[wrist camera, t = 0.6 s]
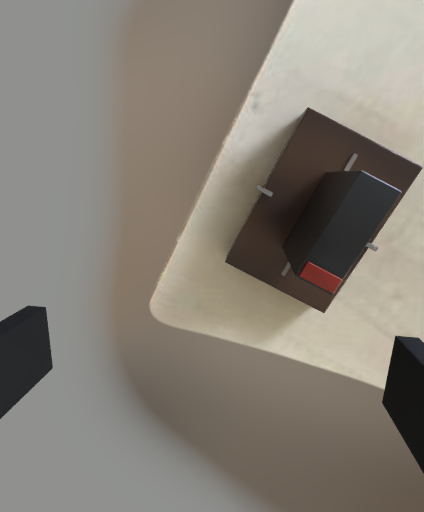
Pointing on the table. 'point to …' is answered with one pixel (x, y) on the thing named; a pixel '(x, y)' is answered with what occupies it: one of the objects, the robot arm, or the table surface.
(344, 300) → the table surface
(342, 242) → the dark grey upright block
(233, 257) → the lever panel
